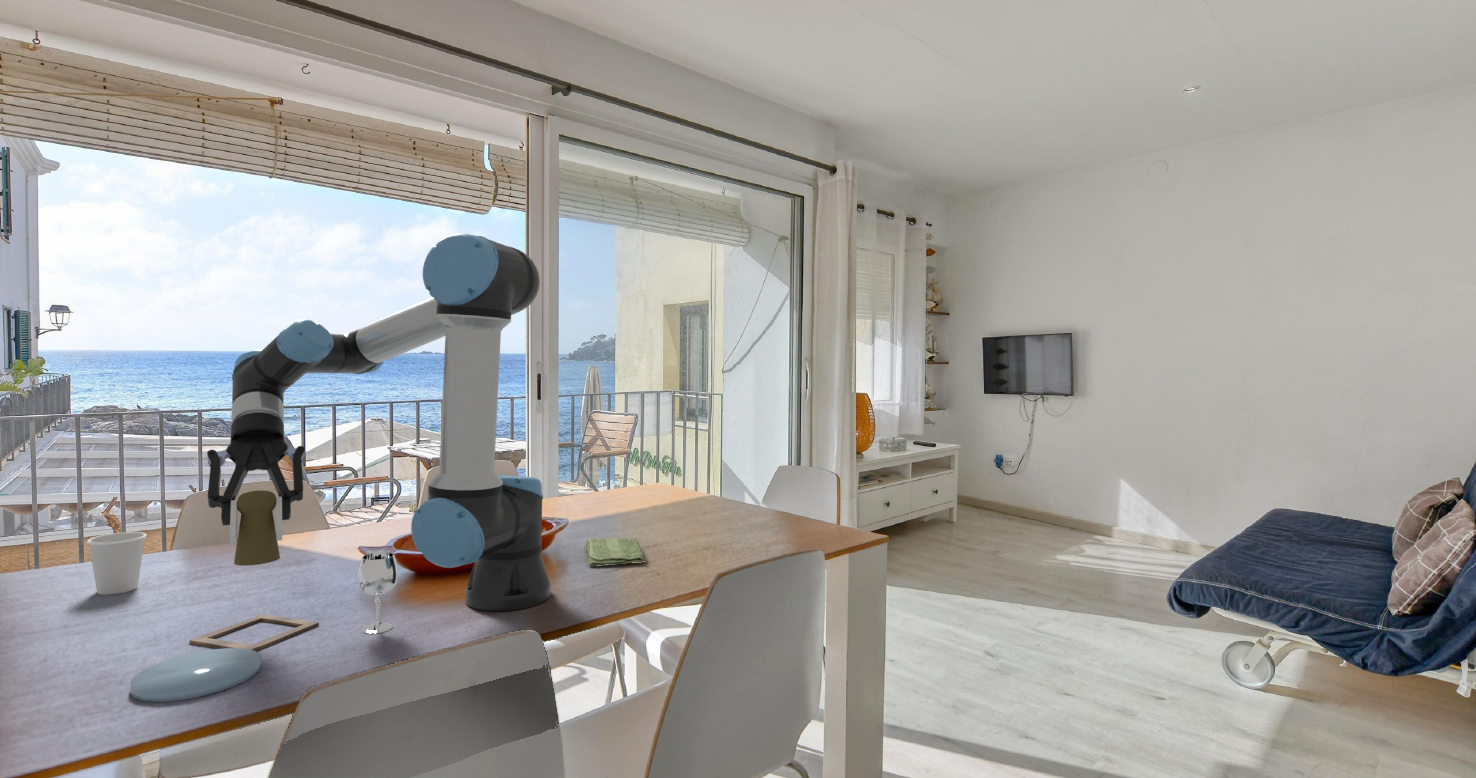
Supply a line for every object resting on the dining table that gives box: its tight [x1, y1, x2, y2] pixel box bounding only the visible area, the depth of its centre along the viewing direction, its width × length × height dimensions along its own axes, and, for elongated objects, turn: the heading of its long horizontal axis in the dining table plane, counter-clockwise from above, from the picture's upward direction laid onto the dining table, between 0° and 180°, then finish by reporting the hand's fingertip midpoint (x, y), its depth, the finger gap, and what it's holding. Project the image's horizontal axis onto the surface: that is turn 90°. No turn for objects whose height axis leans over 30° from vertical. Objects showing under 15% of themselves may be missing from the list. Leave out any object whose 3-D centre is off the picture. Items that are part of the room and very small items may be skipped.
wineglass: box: [357, 551, 399, 635], centre depth 112 cm, size 6×6×12 cm
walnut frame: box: [189, 613, 320, 652], centre depth 109 cm, size 12×12×1 cm
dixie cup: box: [86, 531, 148, 596], centre depth 129 cm, size 8×8×10 cm
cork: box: [233, 490, 281, 567], centre depth 109 cm, size 6×6×11 cm
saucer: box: [130, 648, 262, 703], centre depth 94 cm, size 14×14×1 cm
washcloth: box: [584, 537, 647, 567], centre depth 159 cm, size 13×18×3 cm
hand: (256, 537), depth 106 cm, fingers closed on cork, 5 cm apart
